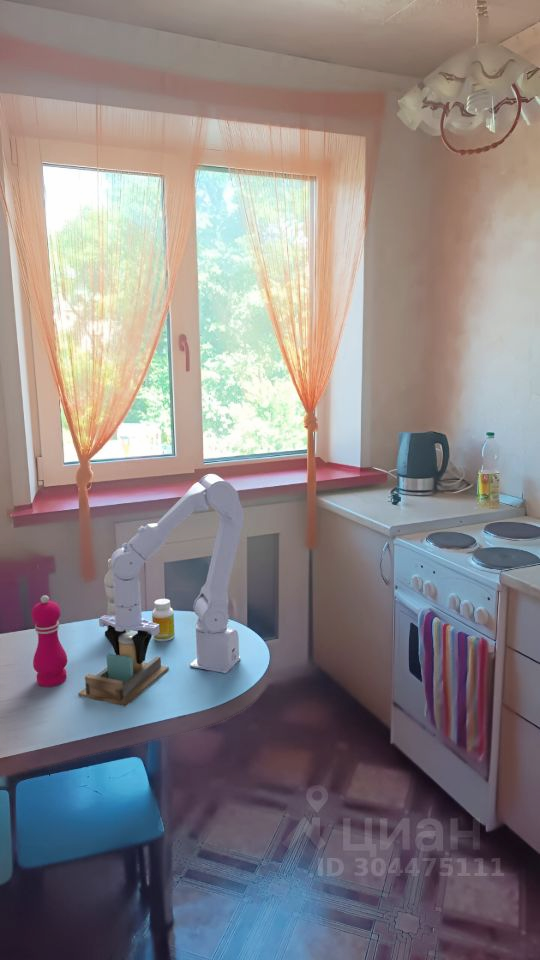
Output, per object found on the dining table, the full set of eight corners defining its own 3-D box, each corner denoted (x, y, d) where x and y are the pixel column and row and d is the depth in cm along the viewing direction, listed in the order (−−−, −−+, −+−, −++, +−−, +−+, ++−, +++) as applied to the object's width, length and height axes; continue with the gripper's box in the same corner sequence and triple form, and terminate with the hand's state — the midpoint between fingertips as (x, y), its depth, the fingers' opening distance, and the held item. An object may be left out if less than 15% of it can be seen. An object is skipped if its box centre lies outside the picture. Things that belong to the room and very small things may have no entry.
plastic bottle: (123, 626, 173) (119, 554, 169) (137, 633, 168) (133, 559, 164) (102, 633, 169) (97, 560, 165) (116, 641, 164) (111, 565, 160)
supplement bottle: (172, 641, 163) (171, 605, 161) (151, 642, 163) (149, 605, 161) (176, 632, 168) (174, 597, 167) (155, 632, 169) (153, 597, 167)
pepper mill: (75, 674, 147) (68, 591, 143) (55, 690, 140) (47, 603, 136) (48, 670, 149) (41, 588, 146) (27, 685, 143) (19, 599, 139)
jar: (147, 666, 147) (145, 633, 145) (135, 676, 142) (133, 642, 141) (128, 663, 149) (126, 630, 147) (115, 673, 144) (113, 639, 143)
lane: (168, 669, 149) (167, 651, 148) (125, 706, 134) (124, 686, 133) (124, 660, 153) (123, 643, 153) (78, 695, 138) (76, 676, 137)
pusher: (133, 683, 141) (132, 657, 140) (131, 685, 140) (129, 659, 139) (111, 678, 144) (109, 653, 142) (108, 680, 143) (106, 655, 141)
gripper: (89, 604, 142) (93, 662, 144) (145, 613, 136) (148, 673, 139) (108, 593, 148) (112, 648, 151) (163, 601, 143) (166, 659, 145)
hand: (131, 659), depth 145 cm, fingers closed on jar, 5 cm apart
